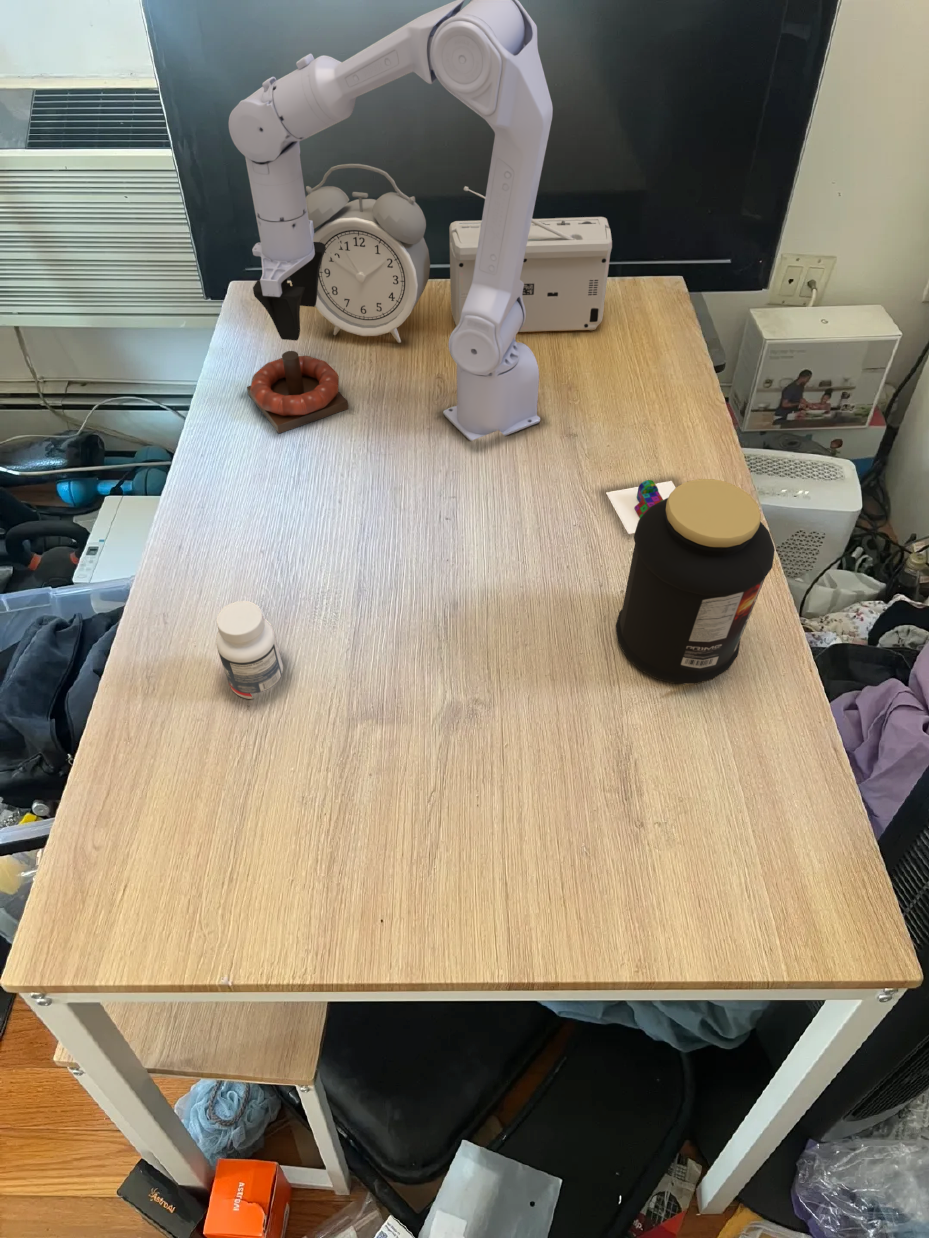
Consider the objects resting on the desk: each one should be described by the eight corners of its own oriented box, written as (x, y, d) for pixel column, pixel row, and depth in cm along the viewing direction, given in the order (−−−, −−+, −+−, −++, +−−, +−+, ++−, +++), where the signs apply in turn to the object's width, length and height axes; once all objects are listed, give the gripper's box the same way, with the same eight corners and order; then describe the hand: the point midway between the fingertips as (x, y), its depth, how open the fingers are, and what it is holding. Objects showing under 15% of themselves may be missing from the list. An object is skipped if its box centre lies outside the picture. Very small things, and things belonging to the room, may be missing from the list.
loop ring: (314, 359, 119) (312, 343, 117) (355, 400, 113) (353, 383, 111) (238, 386, 115) (234, 370, 113) (276, 430, 109) (273, 413, 107)
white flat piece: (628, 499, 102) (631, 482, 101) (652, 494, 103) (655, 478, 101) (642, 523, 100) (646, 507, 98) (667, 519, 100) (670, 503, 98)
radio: (596, 304, 130) (613, 159, 115) (605, 335, 125) (624, 187, 110) (450, 308, 129) (448, 163, 114) (453, 340, 124) (450, 192, 109)
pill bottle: (231, 658, 88) (211, 596, 81) (286, 654, 88) (271, 592, 81) (226, 702, 84) (205, 641, 78) (283, 699, 84) (267, 637, 78)
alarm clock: (305, 338, 125) (280, 174, 108) (325, 305, 130) (304, 144, 114) (422, 352, 122) (414, 186, 106) (437, 319, 128) (432, 156, 111)
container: (715, 594, 93) (757, 455, 79) (756, 688, 85) (811, 551, 72) (599, 607, 92) (622, 468, 78) (630, 703, 84) (661, 567, 70)
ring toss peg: (315, 372, 119) (308, 326, 114) (348, 408, 114) (343, 362, 109) (248, 394, 116) (238, 348, 111) (278, 434, 111) (269, 387, 106)
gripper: (266, 180, 106) (284, 288, 116) (225, 238, 97) (248, 351, 107) (324, 184, 105) (338, 293, 116) (289, 243, 96) (306, 356, 106)
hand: (298, 321), depth 111 cm, fingers open, 7 cm apart
